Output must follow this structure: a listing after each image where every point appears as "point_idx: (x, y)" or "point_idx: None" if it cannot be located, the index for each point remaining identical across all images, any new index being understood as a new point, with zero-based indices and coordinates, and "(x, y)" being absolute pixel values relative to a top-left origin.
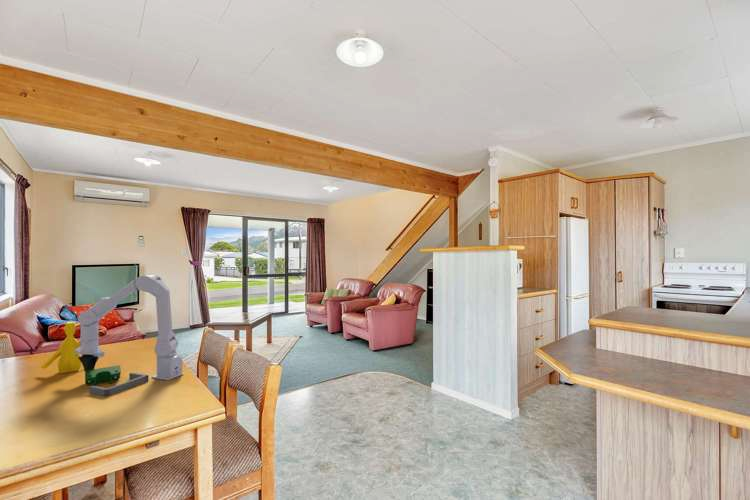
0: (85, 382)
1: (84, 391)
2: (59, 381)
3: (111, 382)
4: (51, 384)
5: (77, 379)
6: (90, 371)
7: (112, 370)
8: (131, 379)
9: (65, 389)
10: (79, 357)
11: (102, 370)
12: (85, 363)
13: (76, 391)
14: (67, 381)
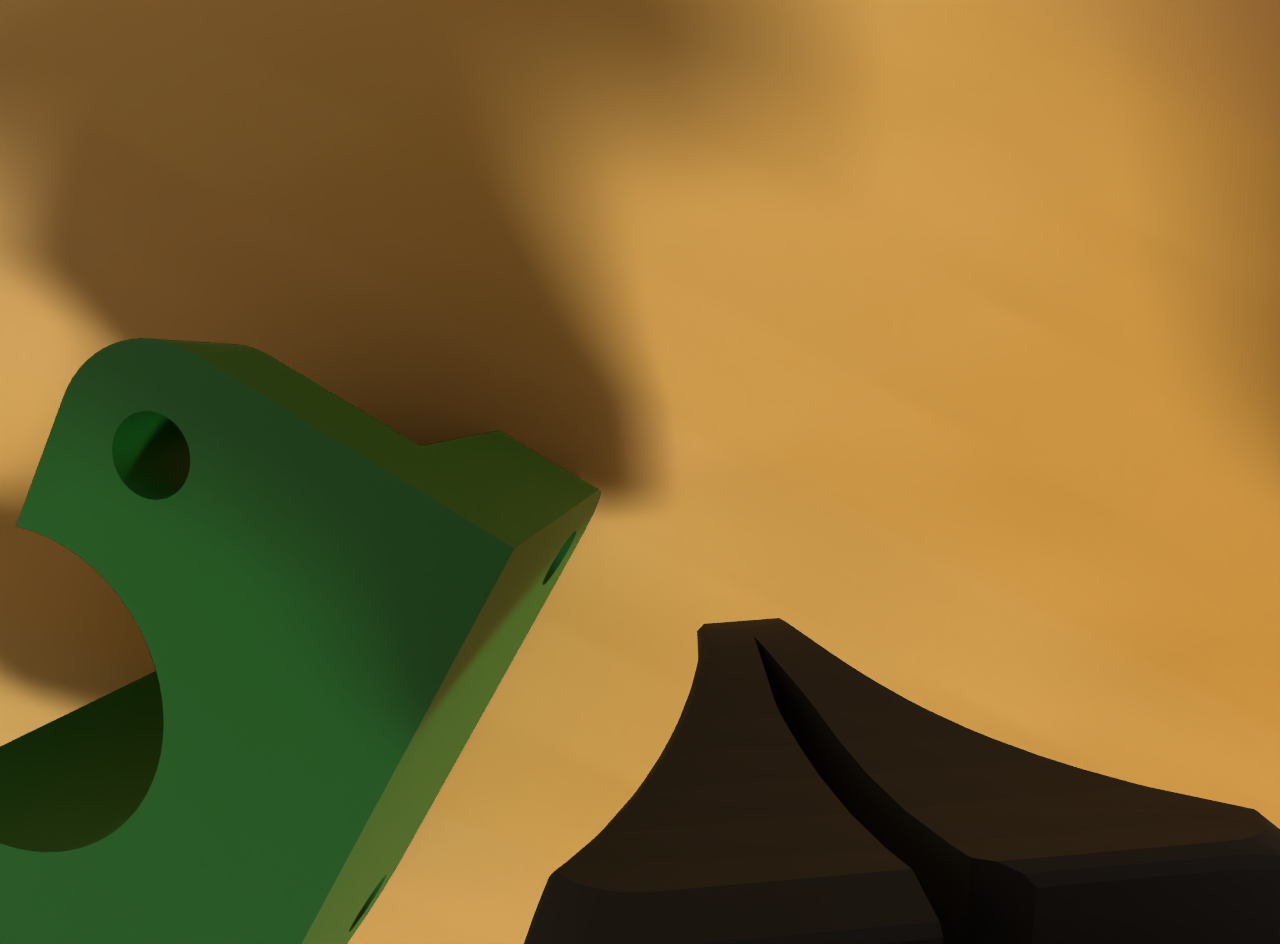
0: (490, 437)
1: (174, 242)
2: (1265, 358)
3: (135, 691)
4: (1252, 194)
5: (1035, 558)
6: (368, 603)
7: (46, 921)
8: None
9: (668, 144)
10: (1221, 875)
11: (199, 802)
12: (754, 761)
13: (324, 172)
14: (1110, 422)
